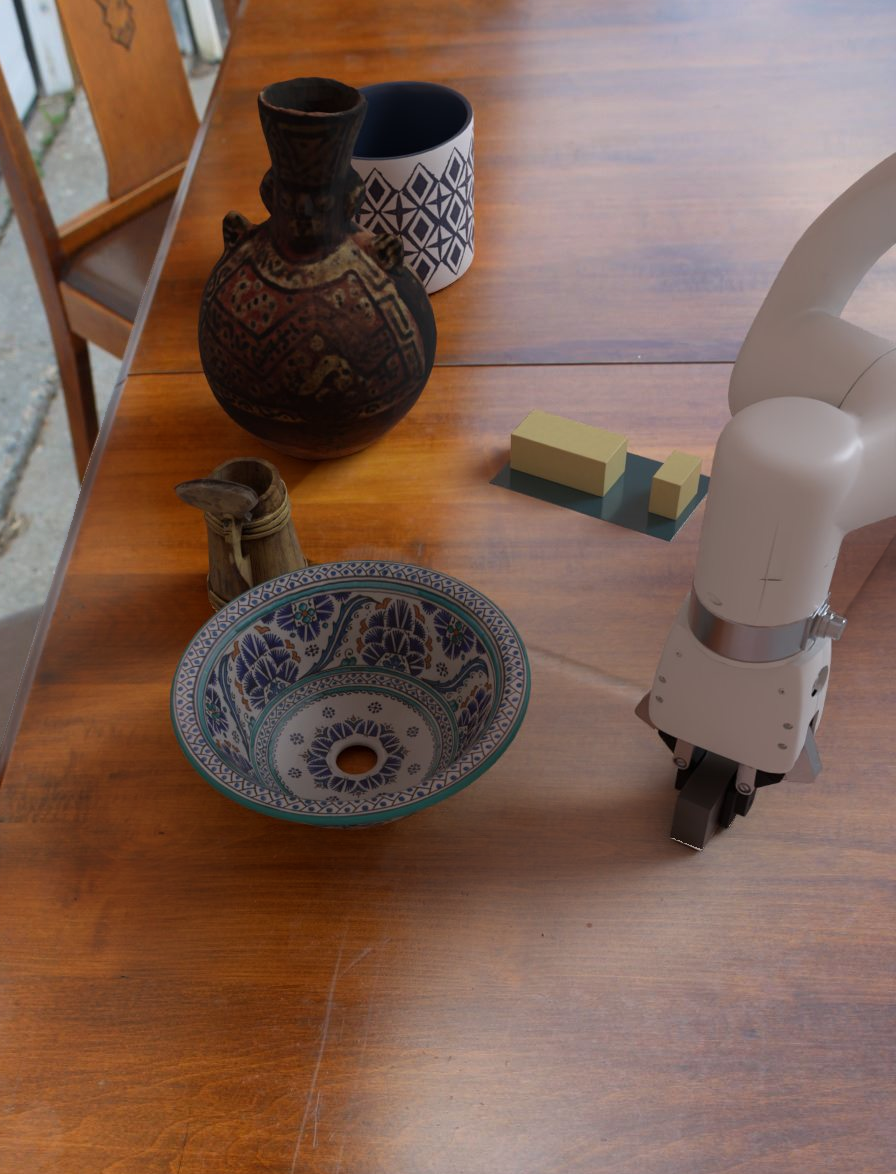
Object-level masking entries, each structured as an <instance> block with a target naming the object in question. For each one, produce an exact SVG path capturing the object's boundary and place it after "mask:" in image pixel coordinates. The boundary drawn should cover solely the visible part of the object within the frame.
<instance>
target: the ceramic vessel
mask: <svg viewBox="0 0 896 1174" xmlns="http://www.w3.org/2000/svg"><path fill="white" fill-rule="evenodd" d="M356 89H357V88H355V87H353V86H350V85H347V84H345V83H344V82H342V81H339V80H337V79H335V78H327V77H321V76H308V77H307V76H304V77H303V76H301V77H296V78H292V79H287V80H284V81H277V82H273V83H271V84H268V85H266V86H264V87H263V89H262V90H260V91H259V93H258V95H257V99H256V100H257V101H256V103H257V109H258V117H259V120H260V126H261V130H262V133H263V136H264V140H265V142H266V147H267V150H268V154H269V158H270V164H271V166H270V167H269V168H268V169H267V171H266V172H265V173H264V175H263V177H262V179H261V182H260V184H259V187H258V191H259V196H260V199H261V202H262V204H263V205H264V207H265V209H266V210H267V212H268V213H269V215H270V216H269V217H268V218H267V219H266V220H264V221H261V222H260V223H258V224H256V223H252V222H251V221H250V220H249V219H248V218H247V217H246V216H245V215H244V214H243V213H241V212H239V211H238V210H230V211H228V212H227V214H225V215H224V216H223V218H222V222H221V223H222V224H221V225H222V228H221V229H222V230H221V232H222V240H223V247H224V249H223V252H222V254H221V256H220V257H219V259H218V260H217V262H216V263H215V264H214V265H213V267H212V270H211V272H210V274H209V276H208V277H207V280H206V282H205V283H204V284H205V285H204V288H203V290H202V294H201V298H200V304H199V310H198V322H197V342H198V351H199V352H198V353H199V358H200V363H201V368H202V371H203V374H204V377H205V380H206V382H207V384H208V386H209V388H210V390H211V392H212V395H213V397H214V398H215V400H216V401H217V403H218V404H219V406H220V407H221V409H222V410H223V411H224V413H225V414H226V415H227V416H228V417H229V418H230V419H231V420H232V421H233V422H234V423H235V424H237V425H238V426H239V427H240V428H241V429H243V430H244V431H245V432H247V433H248V434H249V435H250V436H252V437H254V438H255V439H256V440H258V441H259V442H261V444H263V445H264V446H267V447H269V448H271V449H273V450H276V451H278V452H280V453H282V454H284V455H287V456H290V457H294V458H297V459H301V460H310V461H325V460H331V459H339V458H342V457H347V456H350V455H353V454H356V453H358V452H361V451H364V450H365V449H367V448H369V447H371V446H372V445H373V444H375V443H376V442H378V441H379V440H381V439H382V438H383V437H384V436H386V435H387V434H389V433H390V431H392V430H393V429H394V428H395V427H396V426H397V425H399V423H400V422H401V421H402V420H403V419H404V418H405V417H406V416H407V415H408V414H409V413H410V411H411V410H412V409H413V407H414V406H415V405H416V404H417V402H418V401H419V399H420V397H421V395H422V393H423V392H424V390H425V388H426V386H427V383H428V381H429V379H430V376H431V374H432V371H433V368H434V364H435V358H436V351H437V346H438V345H437V344H438V329H437V324H436V318H435V314H434V313H435V312H434V309H433V306H432V303H431V299H430V296H429V294H427V291H426V289H425V286H424V284H423V282H422V280H421V279H420V277H419V275H418V274H417V272H416V271H415V269H414V268H413V267H412V266H411V265H410V264H409V262H408V261H407V260H406V259H405V258H404V255H405V252H404V245H403V242H402V240H401V239H400V238H399V237H398V236H396V235H394V234H391V233H383V234H379V235H376V234H374V233H373V232H371V231H369V230H368V229H366V228H365V227H363V226H361V225H359V224H358V223H356V222H354V221H352V220H351V219H352V218H353V217H354V215H355V214H356V213H357V212H358V211H359V210H360V209H361V207H362V205H363V204H364V202H365V198H366V186H365V183H364V181H363V179H362V177H361V176H360V175H359V173H358V172H357V171H356V170H354V169H353V167H352V165H351V159H352V154H353V148H354V145H355V142H356V140H357V137H358V134H359V131H360V129H361V126H362V123H363V120H364V119H365V116H366V112H367V108H368V100H367V98H366V96H365V95H363V94H361V93H360V91H358V90H356Z"/></svg>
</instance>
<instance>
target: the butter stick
mask: <svg viewBox="0 0 896 1174" xmlns="http://www.w3.org/2000/svg"><path fill="white" fill-rule="evenodd" d="M628 442H629V436H627V435H624V434H621V433H617V432H614V431H610V430H608V429H604V428H600V427H597V426H594V425H591V424H587V423H583V422H580V421H576V420H574V419H570V418H566V417H563V416H559V415H556V414H553V413H549V412H546V411H543V410H539V409H536V408H533V409H532V410H531V411H530V412H529V413H528V415H526V417H525V418H524V419H523V420H522V421H521V422H520V423H519V424H518V426H517V427H516V428H515V429H514V430H513V431H512V432H511V433H510V456H509V457H510V458H509V460H510V468H512V469H515V470H518V471H521V472H525V473H528V474H531V475H534V476H537V477H540V478H543V479H547V480H550V481H553V482H556V483H559V484H562V485H565V486H569V487H572V488H575V489H578V490H581V491H584V492H587V493H590V494H594V495H597V496H600V497H604V495H605V494H606V493H607V492H608V491H609V489H610V488H611V487H612V486H613V485H614V483H615V482H616V481H617V480H618V479H619V477H620V476H621V475H622V474H623V472H624V471H625V463H626V453H627V452H628Z"/></svg>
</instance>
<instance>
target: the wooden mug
mask: <svg viewBox="0 0 896 1174" xmlns="http://www.w3.org/2000/svg"><path fill="white" fill-rule="evenodd" d="M173 491H174V493H175V495H176V496H177V497H178V498H179V500H180V501H182V502H183V503H185V504H186V505H188V506H191V507H193V508H196V509H199V510H201V511H202V514H203V518H204V521H205V525H206V533H207V549H208V573H207V576H206V585H207V597H208V596H209V598H208V600H209V599H210V601H211V604H212V606H213V607H214V608H215V610H217V611H219V610H220V609H221V608H223V607H224V606H225V605H227V604H228V603H229V602H230V601H232V600H233V599H235V598H236V597H238V596H239V595H241V594H243V593H244V592H246V591H248V590H250V589H251V588H253V587H255V586H257V585H259V584H261V583H263V582H266V581H268V580H270V579H272V578H275V577H278V576H280V575H283V574H285V573H289V572H292V571H295V570H298V569H302V568H306V567H309V564H308V559H307V557H305V555H304V554H303V552H302V549H301V545H300V542H299V538H298V535H297V532H296V531H297V530H296V529H295V525H294V522H293V521H294V520H293V518H292V503H291V499H290V495H289V493H288V489H287V486H286V483H285V481H284V480H283V479H282V478H281V475H280V471H279V469H278V468H277V467H276V466H275V464H273V463H271V462H270V461H268V460H267V459H264V458H261V457H257V456H238V457H232V458H229V459H226V460H224V461H222V462H221V463H220V464H218V465H217V466H216V467H214V468H213V469H212V470H211V471H210V473H209V474H208V475H207V477H202V478H195V479H189V480H186V481H183V482H180V483H178V484H177V485H175V486H174V488H173ZM210 601H209V602H210ZM211 604H210V605H211Z"/></svg>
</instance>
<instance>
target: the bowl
mask: <svg viewBox="0 0 896 1174" xmlns="http://www.w3.org/2000/svg"><path fill="white" fill-rule="evenodd" d="M531 673H532V672H531V666H530V661H529V656H528V653H527V650H526V647H525V644H524V642H523V639H522V637H521V635H520V633H519V632H518V630H517V629H516V627H515V625H514V623H513V621H511V620H510V618H509V617H508V616H507V615H506V614H505V612H504V611H503V610H502V609H501V608H500V607H499V606H498V605H497V604H495V602H494V601H493V600H491V599H490V598H489V597H487V596H486V595H485V594H484V593H482V592H480V591H479V590H478V589H476V588H474V587H472V586H471V585H469V584H467V583H466V582H464V581H461V580H460V579H457V578H456V577H453V576H451V575H448V574H446V573H443V572H441V571H437V570H434V569H431V568H428V567H425V566H420V565H416V564H413V563H405V562H400V561H390V560H381V559H379V560H378V559H376V560H375V559H357V560H353V559H352V560H341V561H333V562H332V561H331V562H327V563H321V564H314V565H310V566H308V567H306V568H302V569H298V570H295V571H292V572H289V573H285V574H283V575H280V576H278V577H275V578H272V579H270V580H268V581H266V582H263V583H261V584H259V585H257V586H255V587H253V588H251V589H250V590H248V591H246V592H244V593H243V594H241V595H239V596H238V597H236V598H235V599H233V600H232V601H230V602H229V603H228V604H227V605H225V606H224V607H223V608H221V609H220V610H219V611H218V612H215V613H214V614H213V615H212V616H211V617H210V618H209V619H208V620H207V621H206V622H205V623H204V624H203V625H202V626H201V627H200V628H199V629H198V631H197V632H196V633H195V634H194V636H193V637H192V639H190V641H189V643H188V644H187V645H186V647H185V648H184V651H183V652H182V654H181V656H180V658H179V661H178V663H177V665H176V668H175V671H174V674H173V676H172V677H173V678H172V681H171V686H170V694H169V711H170V712H169V713H170V721H171V725H172V730H173V733H174V736H175V739H176V741H177V744H178V746H179V748H180V749H181V751H182V753H183V755H184V757H185V758H186V760H187V762H188V763H189V764H190V765H191V767H192V769H193V770H194V771H195V772H196V773H197V774H198V775H199V776H200V777H201V779H203V780H204V781H205V782H206V783H207V784H209V785H210V786H211V787H212V788H213V789H214V790H215V791H217V792H218V793H220V794H221V795H223V796H224V797H226V798H227V799H229V800H231V801H233V802H235V803H236V804H238V805H240V806H243V807H244V808H246V809H249V810H251V811H254V812H256V813H259V814H262V815H265V816H268V817H271V818H275V819H278V820H281V821H282V820H283V821H287V822H291V823H297V824H298V823H299V824H304V825H305V824H306V825H309V826H313V827H316V828H317V827H318V828H324V829H330V830H360V829H361V830H363V829H370V828H375V827H381V826H385V825H388V824H391V823H395V822H397V821H401V820H403V819H406V818H408V817H410V816H412V815H415V814H416V813H418V812H420V811H422V810H425V809H427V808H429V807H432V806H434V805H437V804H439V803H441V802H444V801H445V800H447V799H449V798H450V797H452V796H454V795H456V794H457V793H459V792H461V791H462V790H464V789H466V788H467V787H469V786H470V785H471V784H473V783H474V782H475V781H477V780H478V779H479V778H481V777H482V776H483V775H484V774H485V773H487V771H488V770H489V769H491V768H492V767H493V766H494V765H495V764H496V763H497V761H499V760H500V759H501V757H502V756H503V755H504V753H505V752H506V751H507V750H508V748H509V747H510V745H511V744H512V742H513V741H514V740H515V738H516V736H517V734H518V732H519V730H520V728H521V726H522V725H523V722H524V719H525V716H526V713H527V711H528V706H529V702H530V698H531V690H532V689H531V688H532V676H531V675H532V674H531ZM353 746H364V747H367V748H370V749H371V750H372V751H374V752H375V754H376V756H377V761H376V763H375V765H374V766H373V768H371V769H370V770H368V771H366V772H362V773H358V774H352V773H347V772H344V771H343V770H342V769H340V768H339V766H338V764H337V759H338V756H339V755H340V754H341V752H342V751H344V750H345V749H347V748H350V747H353Z"/></svg>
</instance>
